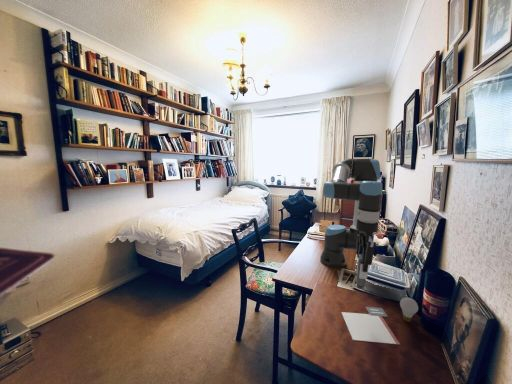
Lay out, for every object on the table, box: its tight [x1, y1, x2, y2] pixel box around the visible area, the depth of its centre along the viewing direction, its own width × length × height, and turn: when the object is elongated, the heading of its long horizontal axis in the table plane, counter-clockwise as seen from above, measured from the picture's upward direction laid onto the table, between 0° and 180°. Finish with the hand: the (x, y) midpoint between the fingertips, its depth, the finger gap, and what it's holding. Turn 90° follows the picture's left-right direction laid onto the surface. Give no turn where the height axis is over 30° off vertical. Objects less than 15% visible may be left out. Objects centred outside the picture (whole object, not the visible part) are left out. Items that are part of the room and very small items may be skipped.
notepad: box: [341, 311, 401, 345], centre depth 83 cm, size 14×16×1 cm
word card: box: [365, 306, 389, 318], centre depth 91 cm, size 5×7×1 cm
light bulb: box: [399, 296, 419, 323], centre depth 86 cm, size 6×6×10 cm
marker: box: [355, 254, 366, 290], centre depth 87 cm, size 3×3×14 cm
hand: (361, 275), depth 88 cm, fingers closed on marker, 3 cm apart
